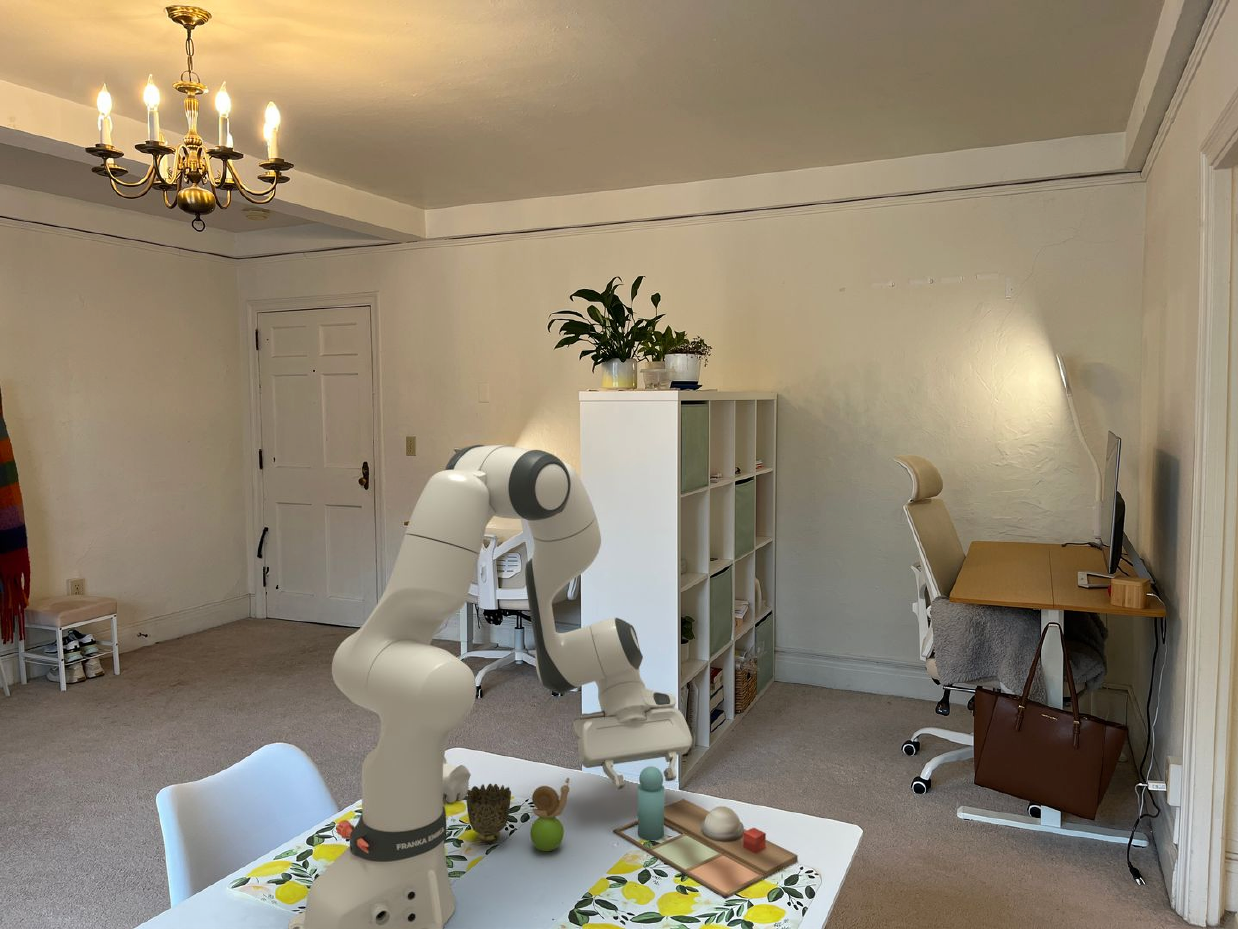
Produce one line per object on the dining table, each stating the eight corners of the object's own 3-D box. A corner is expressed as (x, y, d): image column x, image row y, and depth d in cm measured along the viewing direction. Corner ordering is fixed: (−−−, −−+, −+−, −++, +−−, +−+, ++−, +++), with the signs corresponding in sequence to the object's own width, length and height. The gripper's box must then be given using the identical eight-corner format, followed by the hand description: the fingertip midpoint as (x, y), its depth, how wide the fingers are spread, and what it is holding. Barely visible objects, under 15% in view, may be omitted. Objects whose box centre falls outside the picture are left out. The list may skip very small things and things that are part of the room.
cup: (507, 851, 139) (507, 803, 139) (462, 850, 140) (461, 802, 139) (514, 829, 147) (514, 783, 146) (471, 828, 147) (470, 782, 147)
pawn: (649, 843, 142) (650, 775, 142) (632, 833, 146) (632, 766, 145) (669, 835, 145) (669, 768, 144) (651, 825, 148) (652, 760, 148)
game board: (725, 905, 126) (725, 865, 126) (613, 838, 146) (613, 803, 146) (797, 867, 137) (798, 830, 136) (683, 809, 157) (683, 777, 156)
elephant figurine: (412, 800, 158) (411, 762, 157) (456, 784, 164) (456, 747, 164) (436, 814, 152) (435, 775, 152) (480, 797, 159) (480, 759, 159)
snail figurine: (564, 860, 137) (564, 786, 136) (526, 855, 138) (525, 782, 137) (573, 843, 142) (573, 772, 141) (535, 839, 144) (535, 768, 143)
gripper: (574, 707, 150) (591, 785, 141) (682, 694, 157) (705, 768, 148) (567, 723, 154) (583, 800, 146) (672, 710, 161) (694, 782, 153)
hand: (645, 783), depth 147 cm, fingers open, 8 cm apart
